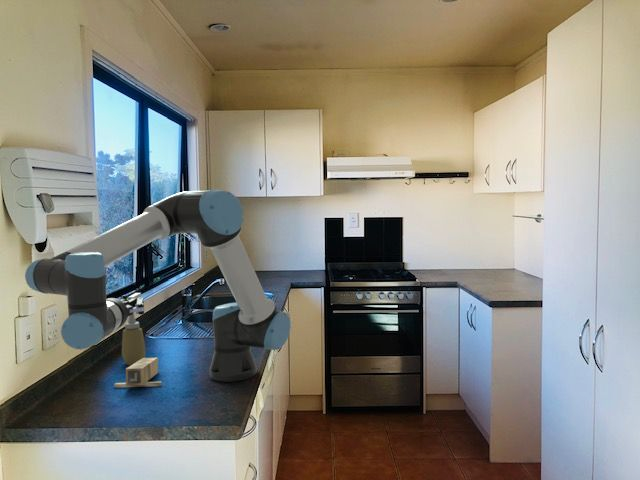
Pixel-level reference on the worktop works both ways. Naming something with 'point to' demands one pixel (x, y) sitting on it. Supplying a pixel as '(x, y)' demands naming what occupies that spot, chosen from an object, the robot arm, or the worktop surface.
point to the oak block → (141, 371)
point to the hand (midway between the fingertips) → (138, 297)
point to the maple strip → (147, 384)
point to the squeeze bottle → (132, 342)
